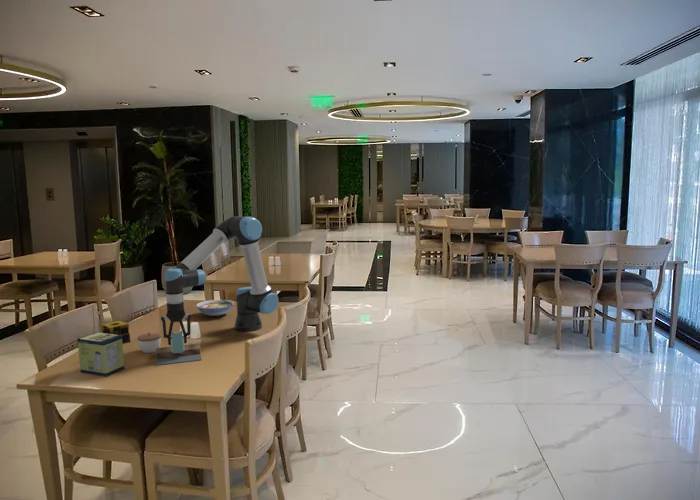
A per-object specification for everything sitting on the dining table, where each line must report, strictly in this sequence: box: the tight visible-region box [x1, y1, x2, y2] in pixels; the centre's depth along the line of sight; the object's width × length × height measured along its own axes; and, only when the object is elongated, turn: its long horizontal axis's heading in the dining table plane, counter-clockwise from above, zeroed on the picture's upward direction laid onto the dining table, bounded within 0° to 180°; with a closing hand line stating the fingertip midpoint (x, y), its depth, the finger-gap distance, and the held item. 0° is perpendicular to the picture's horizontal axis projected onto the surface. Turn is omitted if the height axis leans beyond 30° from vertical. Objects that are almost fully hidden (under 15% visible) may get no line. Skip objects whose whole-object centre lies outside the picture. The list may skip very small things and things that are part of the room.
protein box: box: [77, 331, 125, 378], centre depth 231 cm, size 10×16×16 cm
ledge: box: [155, 343, 201, 360], centre depth 252 cm, size 20×8×3 cm, turn 109°
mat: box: [155, 353, 202, 367], centre depth 244 cm, size 20×8×1 cm, turn 109°
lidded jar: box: [137, 332, 162, 354], centre depth 257 cm, size 11×11×9 cm
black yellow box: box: [101, 320, 131, 345], centre depth 272 cm, size 10×10×10 cm
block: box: [171, 330, 183, 353], centre depth 247 cm, size 4×4×9 cm
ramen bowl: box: [196, 297, 235, 317], centre depth 325 cm, size 25×23×8 cm
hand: (178, 350), depth 247 cm, fingers closed on block, 4 cm apart
